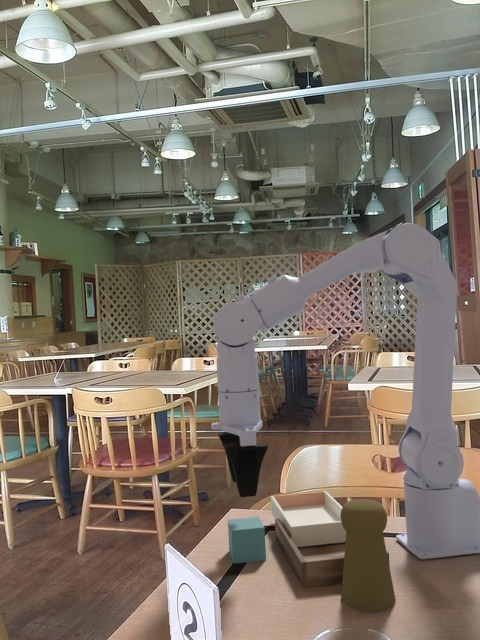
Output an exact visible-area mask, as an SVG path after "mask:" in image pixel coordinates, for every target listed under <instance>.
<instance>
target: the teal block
mask: <svg viewBox="0 0 480 640" xmlns="http://www.w3.org/2000/svg"><path fill="white" fill-rule="evenodd" d="M227 528H228V529H227V530H228V531H227V532H228V551H230V552H229V554H230V557H231V561H232V564H233V563H235V564H243V563H251V562H260V561H261V562H262V560H263V561H267V552H266V551H267V549H266V531H265V530H266V528H265V525H264V523H263V522H262V520H261V518H260V516H253V517H252V516H251V517H244V518H242V517H241V518H240V517H239V518H231V519H227Z"/></svg>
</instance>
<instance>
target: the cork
mask: <svg viewBox="0 0 480 640" xmlns="http://www.w3.org/2000/svg"><path fill="white" fill-rule="evenodd" d="M342 507H343V508H342V509H341V514H340V516H341V522H342V525H343V528H344V529H345V530H346V541H345V554H344V568H343V581H342V583H341V594H340V598H341V602H342V603H343V604H344V605H345V607H348V608H349V609H352V610H356V611H358V612H362V613H363V612H364V613H365V612H366V613H379V612H384V611H388V610H390V609H392V608H393V607H394V606H395V604H396V600H397V599H396V595H395V594H396V593H395V591H394V590H395V589H394V584H393V579H392V574H391V566H390V567H389V564H390V561H389V562H388V557H387V552H388V551H387V547H386V540H385V537H384V531H385V529H386V528H387V523H388V514H387V511H386V509H385V507H384V506H383V504H382V503H381V502H378V501H376V500H373V499H368V498H367V499H366V498H358V499H351V500H349V501H347V502H345V503H344V504H343V506H342Z"/></svg>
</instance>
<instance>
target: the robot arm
mask: <svg viewBox="0 0 480 640" xmlns="http://www.w3.org/2000/svg"><path fill="white" fill-rule="evenodd" d="M441 250H442V249H441V244H440V240H439V239H438V238H436V236H434V235H433V234H432V233H431V232H429V231H428V229H426V228H425V227H423V226H421V225H420V224H416V223H413V222H411V223H410V222H407V223H403V224H400V225H397V226H396V227H394V228H392V230H391V231H390V232H389V233H388V234H387V231H383V232H380V233H377V234H375V235H373V236H371V237H368V238H365V239H364V240H363V239H362V240H361V241H358V242H356V243H355V244H353V245H351V246H350V247H348V248H346V249H344V250H343V251H342V252H339V253H338V254H336V255H334V256H333V257H331V258H329V259H327V260H326V261H325V262H324V261H323V262H322V263H321V264H319V265H318V266H316V267H314V268H312V269H310V270H309V271H307V272H306V273H304V274H302V275H300V276H299V277H294V276H291V275H287V274H282V275H280V276H278V277H277V275H276V274H274V275H272V276H269V277H268V278H267V280H266V281H267V283H266V284H264V285H263V286H261V287H259V288H258V289H255V290H253V291H251V292H250V293H248V294H246V295H245V294H244V293H241V294H240V295H237V300H238V302H237V301H230V302H227V303H226V304H225V306H223V307H222V308H221V309H218V312H216V315H215V316H214V319H213V329H214V334H215V335H216V337H217V338H218V339H219V340H218V341H217V344H216V353H217V357H216V373H217V393H218V395H217V396H218V410H219V411H218V412H219V416H218V417H219V422H218V421H216V422H211V424H210V425H211V429H212V430H214V431H215V430H217V431H219V430H220V431H221V432H217V436H218V439H219V440H220V442H221V443H222V446H223V450H224V451H225V456H226V460H227V464H228V468H229V473H230V474H229V475H230V476H231V480H232V482H233V483H236V487H237V492H238V495H239V497H240V498H249V497H250V498H251V497H256V495H257V493H258V487H259V479H260V471H261V467H262V463H263V460H264V458H265V455H266V454H267V451H268V447H269V444H268V443H267V442H258V443H257V433H258V432H259V430H261V429H262V428H263V420H262V419H261V400H260V399H261V398H260V382H259V365H258V364H259V363H258V362H259V360H258V359H259V358H258V356H257V355H256V349H255V346H256V344H255V336H256V333H257V331H262V332H265V333H266V332H267V331H269V330H271V329H273V328H275V327H277V326H279V325H280V324H282V323H284V322H285V321H287V320H290V319H291V318H293V317H295V316H296V315H298V314H301V313H303V312H304V311H305V308H306V305H307V301H308V298H309V297H311V296H312V295H314V294H316V293H318V292H320V291H322V290H324V289H326V288H328V287H330V286H332V285H334V284H335V283H338V282H339V281H341V280H343V279H345V278H348V277H349V276H351V275H353V274H356V273H363V274H365V273H366V274H373V273H375V272H377V271H378V272H379V273H380V274H382V275H383V276H386V277H387V278H389V279H392V280H394V281H397V282H398V283H400V284H402V285H403V286H404V288H406V289H407V290H408V291H409V292H410V293H411V295H413V296H415V298H416V300H417V303H416V320H415V321H416V322H415V339H414V340H415V341H414V343H415V344H414V357H413V358H414V359H413V360H414V362H413V363H414V364H413V376H412V377H413V379H412V380H413V381H412V397H411V398H412V399H411V401H412V402H411V409H410V412H409V414H408V416H407V418H406V422H405V423H406V425H405V430H404V433H403V434H402V436H401V438H400V440H399V443H398V448H397V449H398V455H399V459H400V460H401V462H402V464H403V465H405V466H406V471H405V474H404V476H403V490H404V491H403V492H404V494H403V495H404V509H405V527H406V529H405V530H406V531H405V532H406V533H402V534H397V535H396V536H395V538H396V540H397V541H398V542H400V544H402V545H403V546H404V547H405V548H406V549H407V550H409V551H410V552H411V554H413V555H414V556H415V557H416V558H417V559H420V560H430V559H438V558H447V557H455V556H456V557H457V556H462V555H472V554H480V496H479V492H478V490H477V487H476V486H475V485H474V483H473V482H472V481H470V480H469V479H468V478H460V477H461V475H462V473H463V471H464V465H465V463H464V457H463V453H462V452H461V449H460V447H459V441H458V438H459V432H458V429H457V427H456V424H455V421H454V419H453V416H452V399H453V377H454V360H455V359H454V358H455V341H456V340H455V339H456V319H457V304H458V303H457V300H458V299H457V298H458V286H457V285H458V284H457V280H456V278H455V277H454V275H453V273H452V270H451V268H450V267H449V265H448V262H447V260H446V259H445V257H444V255H443V253H442V251H441Z"/></svg>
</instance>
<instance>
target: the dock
mask: <svg viewBox="0 0 480 640" xmlns="http://www.w3.org/2000/svg"><path fill="white" fill-rule="evenodd" d="M274 525H275V526H274V527H275V529H274V530H275V540H276V542H277V544H278V546H279V547H280V549H281V551H282V553H283V555H284V557H285V558H286V560H287V562H288V564H289V566H290V567H291V569H292V572H293V573H294V575H295V576H296V578H297V580H298V582H299V583H300V586H301V587H302V588H310V587H321V586H331V585H337V584H342V581H343V568H344V554H345V542H341V543H332V544H322V545H313V546H303V547H296V545H295V543H294V542H293V540H292V539H291V537H290V535H289V534H288V532H287V531H286V529H285V527H284V526H283V524H282V523H281V521H280V519H275V518H274ZM387 557H388V562H389V567H390V568H391V566H390V564H391V563H390V553H389V551H387Z"/></svg>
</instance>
